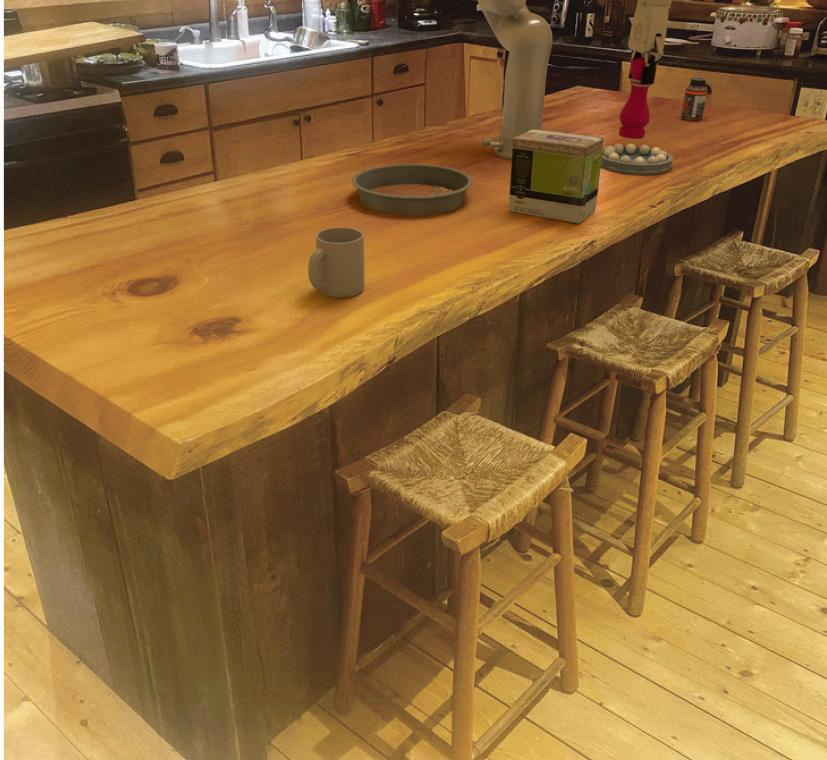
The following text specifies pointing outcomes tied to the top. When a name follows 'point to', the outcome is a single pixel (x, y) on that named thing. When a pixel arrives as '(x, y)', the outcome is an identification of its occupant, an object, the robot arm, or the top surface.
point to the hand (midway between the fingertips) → (640, 80)
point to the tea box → (555, 175)
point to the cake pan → (412, 175)
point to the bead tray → (634, 166)
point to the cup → (338, 262)
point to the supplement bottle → (694, 100)
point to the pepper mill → (635, 104)
